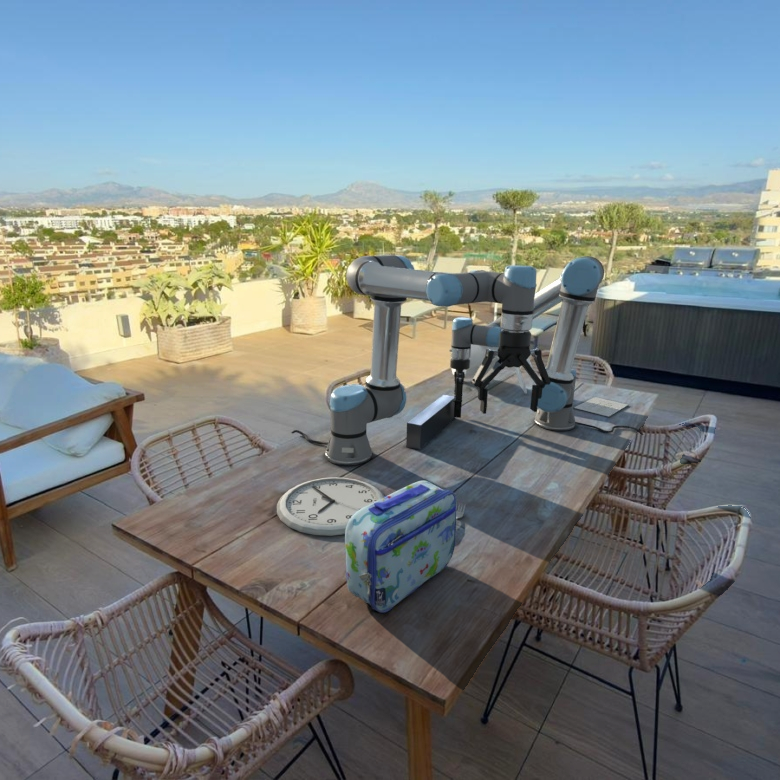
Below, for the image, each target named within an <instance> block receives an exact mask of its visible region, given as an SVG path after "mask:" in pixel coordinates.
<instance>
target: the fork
mask: <svg viewBox="0 0 780 780" xmlns="http://www.w3.org/2000/svg"><path fill="white" fill-rule="evenodd" d="M463 504H464V503H459V502H457V501H456V520H458V519H461V518H463V517H464V515H465V514H464V513H465V508H466V504H464V506H463Z"/></svg>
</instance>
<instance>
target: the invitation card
mask: <svg viewBox="0 0 780 780" xmlns="http://www.w3.org/2000/svg"><path fill="white" fill-rule="evenodd" d="M628 406H629V404H627V403H623V402H618V401H614V400H609V399H605V398H601V397H596V396H593V397H592V398H590V399H588V400H586V401H584V402H582V403H580V404H578V405H575V406H574V407H573V409H575V410H581V411H584V412H587V413H593V414H596V415H600V416H604V417H608V418H609V417H611V416H613V415H614V414H616V413H617V412H619V411H621V410H623V409H624V408H626V407H628Z"/></svg>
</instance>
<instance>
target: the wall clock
mask: <svg viewBox="0 0 780 780" xmlns="http://www.w3.org/2000/svg"><path fill="white" fill-rule="evenodd" d="M384 497H386V495H385V494H384V493H383V492H382V491H381V490H380V489H379V488H377V487H376V486H374V485H372V484H371V483H369V482H365V481H362V480H359V479H355V478H349V477H338V476H337V477H335V476H333V477H332V476H331V477H322V478H317V479H312V480H307V481H305V482H302V483H299V484H297V485H295V486H293V487H292V488H290V489H288V490H287V491H286V492H285V493H284V494H283V495H281V496H280V498H279V499H278V502H277V503H276V515H277V517H278V518H279V520H280V521H281V522H282V523H283V524H285V525H286V526H287V527H288V528H290V529H293V530H295V531H297V532H299V533H303V534H308V535H312V536H327V537H328V536H329V537H331V536H332V537H333V536H342V535H345V531H346V527H347V524H348V522H349V520H350V518H351V517H352V515H353V514H354V513H355V512H357V511H358V510H360V509H362V508H364V507H366V506H368V505H370V504H372V503H374V502H376V501H378V500H380V499H382V498H384Z"/></svg>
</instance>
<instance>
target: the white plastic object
mask: <svg viewBox="0 0 780 780" xmlns="http://www.w3.org/2000/svg"><path fill="white" fill-rule="evenodd" d="M488 348H489V349H491V350H498V348H499V347H488V346H481V345H472V344H471V356H470V358H469V359H470V367H469V369H467V370H463V372H464V374H465V377H464V381H465V380H472V379H473V377H474V375H475V374H476V372H477V370H478V368H479V367H480V365H481V363H482V361H483V359H484V358H485V354H486V350H487V349H488ZM498 359H499V357H498V356H497V355H496V356H495V358H494V359H492V362H491V364H490V366H489V367H488V369H487V371H486V373H485V375H486V374H487V373H488V371H489V370H490V369H491V368H492V367H493V366H494V365H495V363H496V361H497V360H498ZM527 362H528V363H529V364H530V366H531V368H532V369H533V370H534V368H533V365H532V363H531V359H530V356H529V357H528V359H527ZM450 369H451V373H452V376H453V377H454V372H456V371H455V370H456V369H452V368H451V367H450ZM513 369H514V371H515V373H516V374H515V375H516V378H517V380H518V383H519V387H520V388H521V389H522V391H523V392H524V394H527V391H528V389H527V386H526V383H525V381H524V377H523V373H522V371H521V366H520V367H513ZM485 375H484V376H485ZM484 376H483V377H484ZM530 380H531V383H532V385H536V383H535V382H534V381H533V379H532V378H531V377H530Z"/></svg>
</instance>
